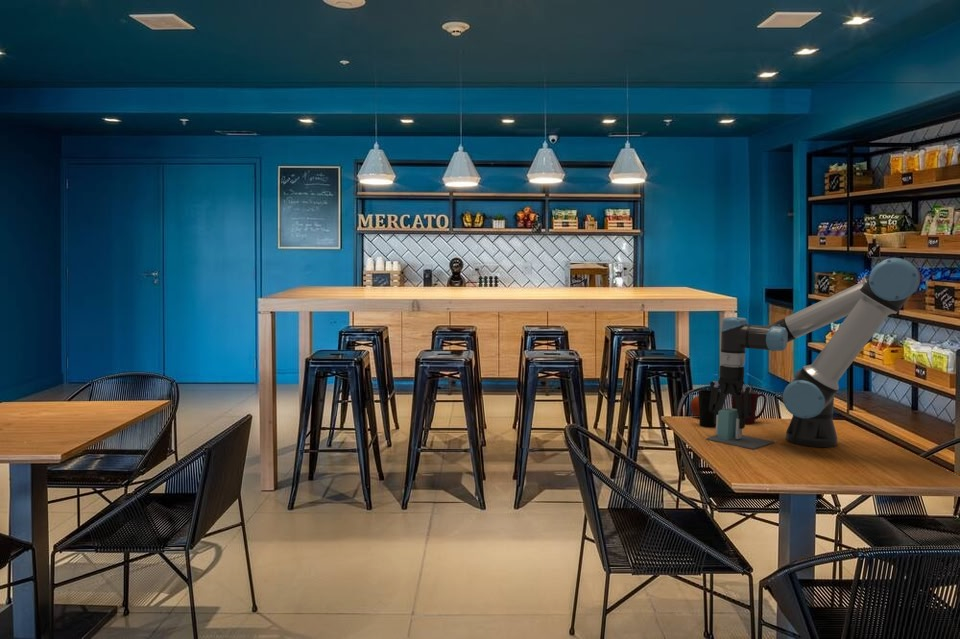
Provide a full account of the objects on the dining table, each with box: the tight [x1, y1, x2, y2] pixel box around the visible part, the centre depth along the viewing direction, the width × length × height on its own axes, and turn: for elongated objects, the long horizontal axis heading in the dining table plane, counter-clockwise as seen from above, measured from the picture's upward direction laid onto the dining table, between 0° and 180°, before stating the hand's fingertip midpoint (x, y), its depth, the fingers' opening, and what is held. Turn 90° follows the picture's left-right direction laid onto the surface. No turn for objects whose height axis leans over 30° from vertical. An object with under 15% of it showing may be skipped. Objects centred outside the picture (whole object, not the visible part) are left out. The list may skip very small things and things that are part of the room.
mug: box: [731, 389, 767, 425], centre depth 262 cm, size 12×9×11 cm
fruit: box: [690, 395, 699, 417], centre depth 269 cm, size 11×10×8 cm
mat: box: [705, 434, 775, 451], centre depth 234 cm, size 14×16×1 cm
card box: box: [717, 407, 739, 440], centre depth 236 cm, size 4×7×9 cm, turn 133°
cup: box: [697, 389, 721, 429], centre depth 255 cm, size 8×8×12 cm
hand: (728, 436), depth 237 cm, fingers open, 6 cm apart
